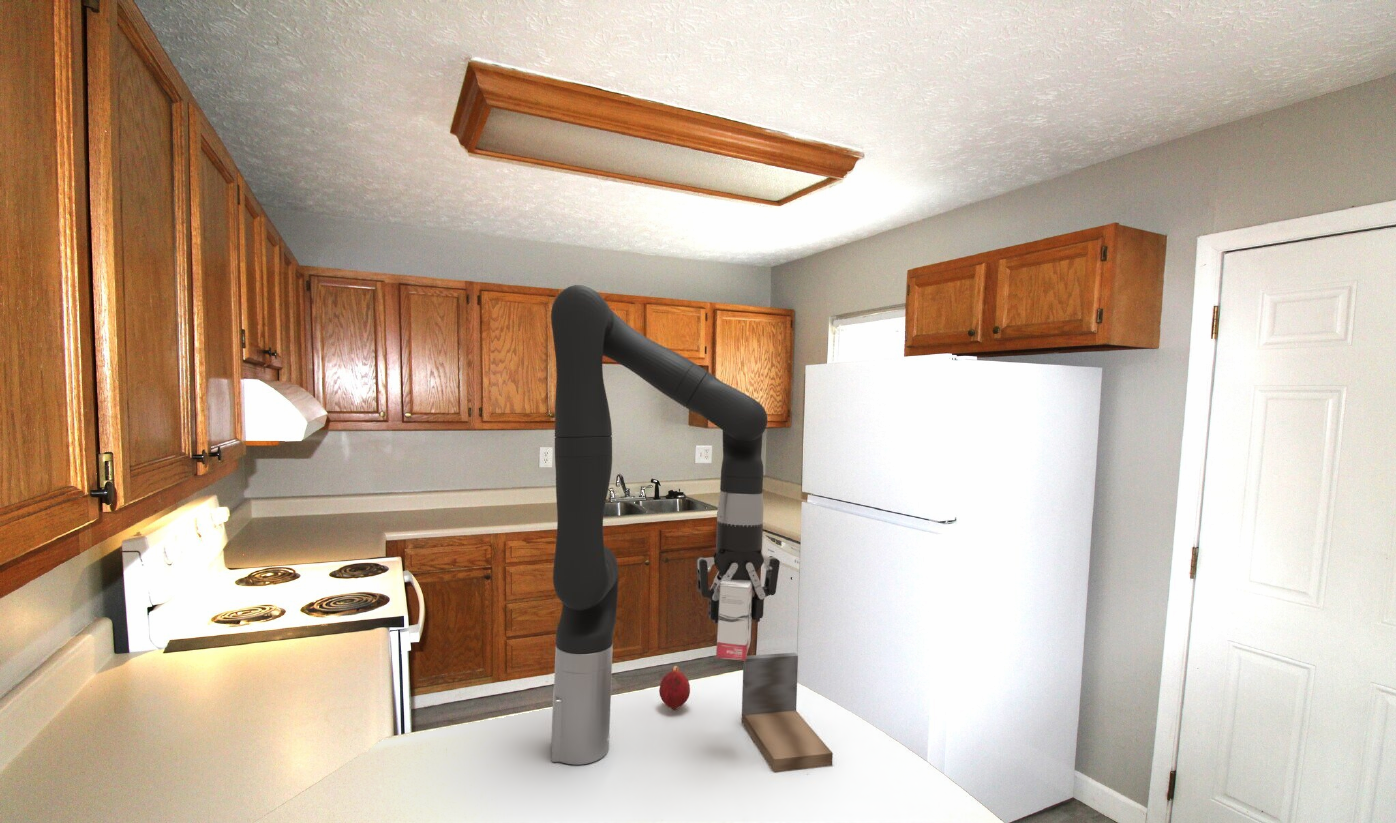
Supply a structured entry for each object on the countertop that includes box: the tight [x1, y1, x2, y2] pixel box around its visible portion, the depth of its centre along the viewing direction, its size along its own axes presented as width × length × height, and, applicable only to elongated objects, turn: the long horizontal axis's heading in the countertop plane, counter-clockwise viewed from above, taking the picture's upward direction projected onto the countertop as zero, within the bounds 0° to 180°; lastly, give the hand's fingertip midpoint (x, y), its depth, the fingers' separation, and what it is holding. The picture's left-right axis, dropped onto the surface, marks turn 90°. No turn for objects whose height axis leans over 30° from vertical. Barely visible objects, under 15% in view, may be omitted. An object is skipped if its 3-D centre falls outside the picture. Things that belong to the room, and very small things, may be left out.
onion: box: [658, 665, 691, 711], centre depth 115 cm, size 6×6×8 cm
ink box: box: [716, 580, 754, 661], centre depth 100 cm, size 9×5×12 cm, turn 170°
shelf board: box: [740, 652, 834, 773], centre depth 104 cm, size 10×16×12 cm, turn 14°
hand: (735, 620), depth 100 cm, fingers closed on ink box, 6 cm apart
